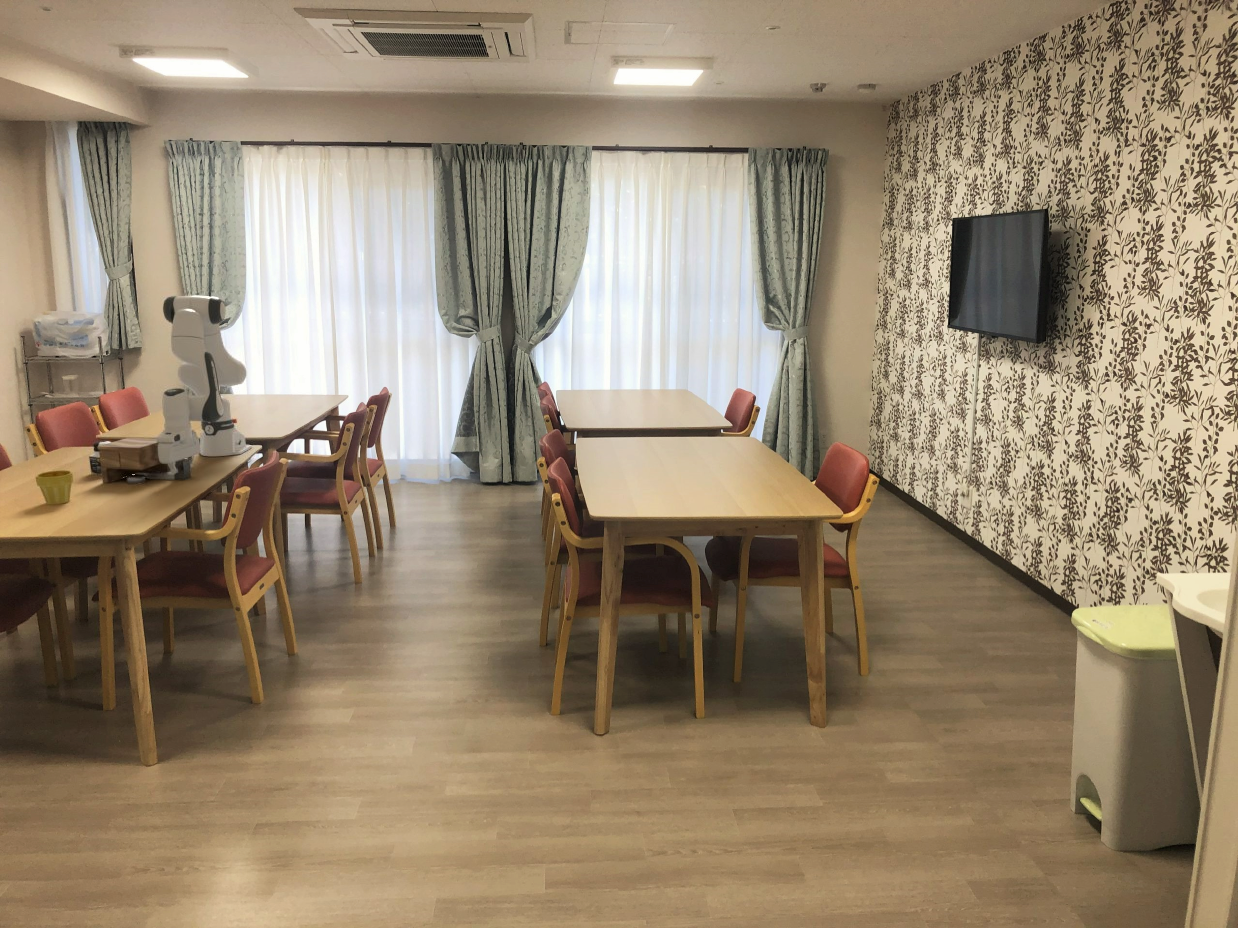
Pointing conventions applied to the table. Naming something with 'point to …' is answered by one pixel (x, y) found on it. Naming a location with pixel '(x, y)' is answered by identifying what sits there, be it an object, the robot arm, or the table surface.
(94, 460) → the medicine bottle
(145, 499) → the table surface
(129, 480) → the steel puck
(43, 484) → the plant pot
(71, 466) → the table surface
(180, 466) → the grey mallet
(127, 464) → the cabinet
